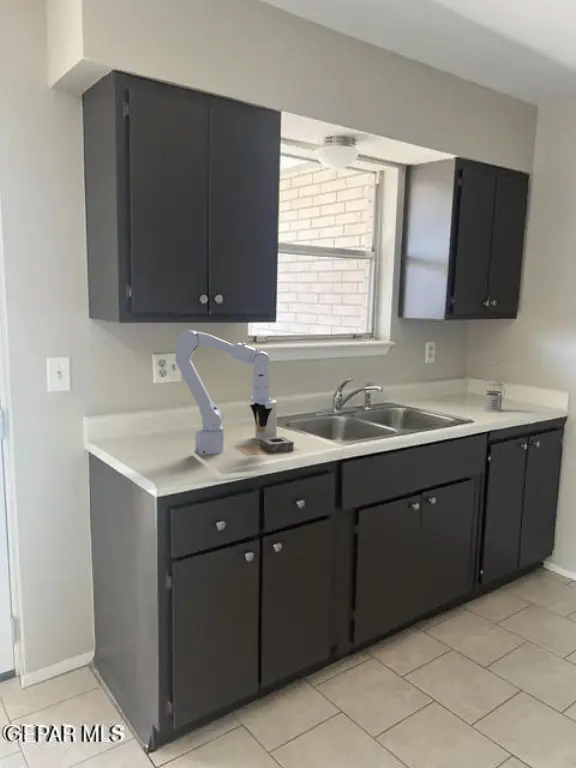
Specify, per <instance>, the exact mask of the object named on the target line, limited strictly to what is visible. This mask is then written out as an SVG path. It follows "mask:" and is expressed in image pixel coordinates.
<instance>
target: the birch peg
mask: <svg viewBox="0 0 576 768" xmlns="http://www.w3.org/2000/svg"><path fill="white" fill-rule="evenodd" d="M257 432H258V433H264V432H265V427H260V425H259V417H258V413H257Z"/></svg>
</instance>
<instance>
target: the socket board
mask: <svg viewBox="0 0 576 768" xmlns="http://www.w3.org/2000/svg"><path fill="white" fill-rule="evenodd" d="M233 447H234V448H235V449H237V450H238V451H240V452H241V453H244V455H246V456H259V455H267V454H268V455H269V454H276V453H278V454H279V453H286V452H288V453H289V452H296V451H300V449H299V448H298V447H295V446H294V441H292V440H290V439H288V438H286V437H284V436H277V437H274V438H263V439H260V440H259V443H254V444H252V443H251V444H243V445H233Z"/></svg>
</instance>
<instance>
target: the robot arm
mask: <svg viewBox="0 0 576 768" xmlns="http://www.w3.org/2000/svg"><path fill="white" fill-rule="evenodd" d="M175 343H176V347H175V348H176V350H175V363H176V366H177V367H178V369H179V371H180V373H181V375H182V377H183V378H184V381H185V382H186V384H187V387H188V388H189V390H190V392H191V394H192V395H193V398H194V401H195V402H196V404H197V407H198V410H199V414H200V415H201V418H202V419H201V421H202V426H203V427H202V429H201V430H196V432H195V435H194V439H195V443H194V444H195V445H194V446H195V447H194V448H195V451H194V454H196V455H197V456H198V457H199V458H200V459H203V457H202V455H215V454H221V453H224V437H225V436H224V426H223V425H222V422H223V420H224V413H223V412H222V410H221V409H219V408H218V407H217V406H216V404H215V402H214V401H213V400H212V398H211V396H210V394H209V392H208V390H207V388H206V387H205V385H204V382H203V381H202V378H201V377H200V375H199V373H198V371H197V369H196V367H195V365H194V363H193V361H192V358H193V355H194V353H195V351H196V349H197V348H198V347H199V348H201V347H208V346H209V347H211V348H214V349H216V350H217V349H218V350H220V351H221V352H222V351H223V352H225V353H229V354H230V356H231V357H232V359H234V360H237V361H239V362H241V363H244V364H246V365H252V366H253V373H252V395H251V396H250V402H251V403H253V404H249V407H250V409H251V411H252V414H253V418H254V422H255V423H256V425H257V413H258V417H259V425H260V427H266V425H267V421H268V417H269V414H270V412H271V410H272V402H271V401H273V400H274V399H273V398H270V382H271V381H270V365H271V361H270V360H271V358H270V356H269V354H268V353H267V352H265V351H264V350H259V348H253V347H251V346H249V345H247V343H246V342H242V343H240V342H237V343H236V344H233V343H230V342H228V341H226V340H224V339H221V338H219V337H217V336H215V335H212V334H210V333H206V332H202V331H198V330H195V329H188V330H185V331H183V332H182V333H180V335H179V337H178V339H177V340H176V342H175Z"/></svg>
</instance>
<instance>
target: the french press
mask: <svg viewBox="0 0 576 768" xmlns="http://www.w3.org/2000/svg"><path fill="white" fill-rule="evenodd" d="M493 364H494V365H498V364H499V362H498V361H494V362H493ZM496 370H497V366H495V369H494V371H495V372H494V375H496V373H497V371H496ZM486 385H488V386H493V390H487V391H486V393H485V403H484V405H485V406H484V408H483V409H482V411H485V412H489V413H503V412H504V410H503V409H502V402H503V399H504V398H505V395H506V391H505V388H504V387H503V385H504V383H502V382H501V381H499V380H496V379H494V380H490V381H488V382H486ZM495 386H496V387H498V389H500V391H499V390H495V388H496V387H495ZM502 388H503V389H502Z"/></svg>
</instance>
